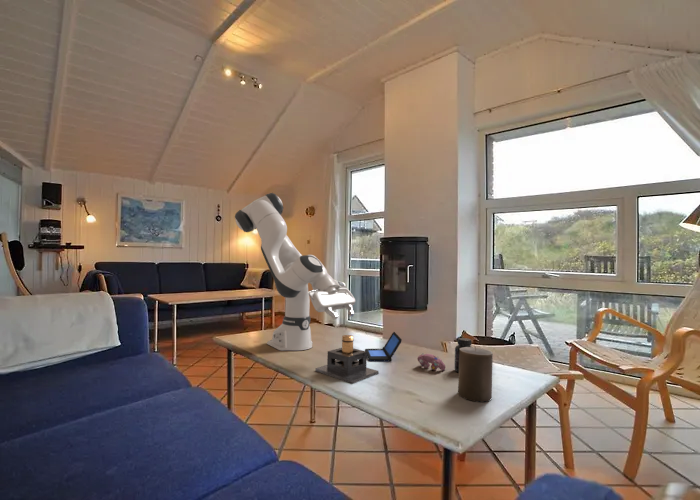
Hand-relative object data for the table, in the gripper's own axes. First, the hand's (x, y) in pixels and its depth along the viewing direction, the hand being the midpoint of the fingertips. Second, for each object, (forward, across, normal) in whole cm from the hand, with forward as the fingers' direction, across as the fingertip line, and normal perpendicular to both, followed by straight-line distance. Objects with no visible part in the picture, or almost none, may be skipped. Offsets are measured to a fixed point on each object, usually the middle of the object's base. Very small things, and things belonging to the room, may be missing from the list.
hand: (344, 316), depth 129 cm
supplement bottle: (+38, +28, -11) cm, 49 cm away
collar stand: (+16, -3, +11) cm, 20 cm away
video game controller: (+31, +23, -3) cm, 39 cm away
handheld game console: (+15, +24, +13) cm, 31 cm away
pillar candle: (+47, +8, -19) cm, 51 cm away
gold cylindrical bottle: (+16, -3, +10) cm, 19 cm away
